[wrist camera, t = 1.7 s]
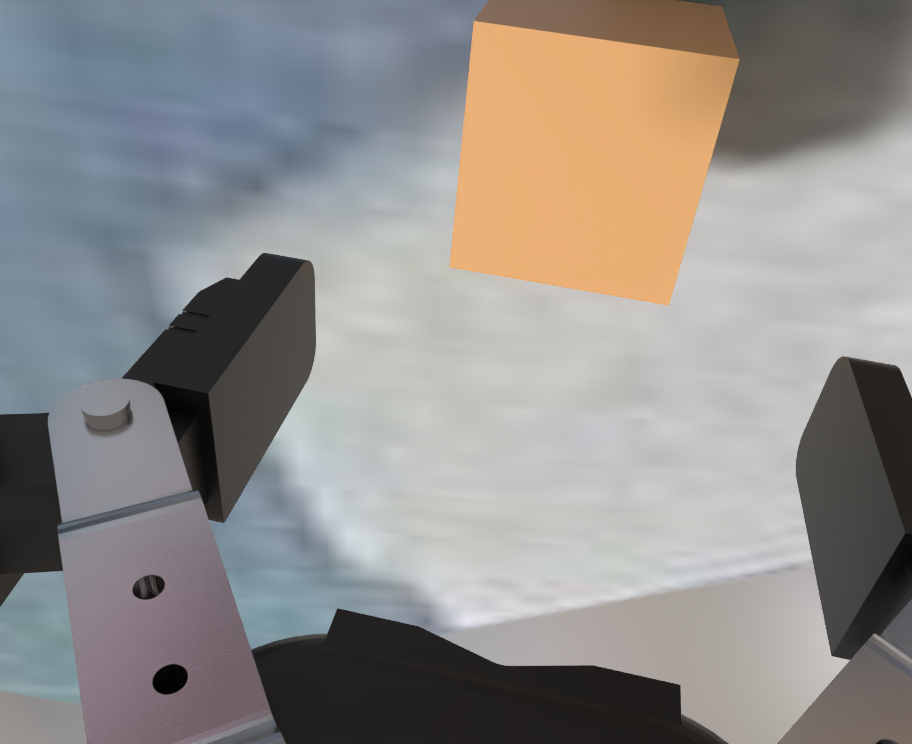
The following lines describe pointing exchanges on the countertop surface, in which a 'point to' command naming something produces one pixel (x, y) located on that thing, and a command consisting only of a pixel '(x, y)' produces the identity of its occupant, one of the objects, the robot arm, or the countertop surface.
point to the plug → (589, 140)
